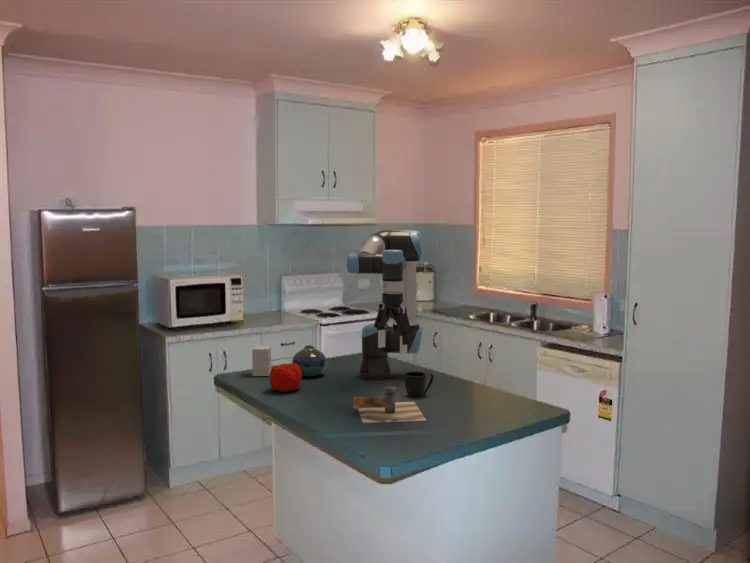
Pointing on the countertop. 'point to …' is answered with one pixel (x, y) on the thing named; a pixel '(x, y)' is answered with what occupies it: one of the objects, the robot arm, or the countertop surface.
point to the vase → (310, 361)
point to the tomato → (285, 377)
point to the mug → (416, 383)
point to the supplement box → (261, 360)
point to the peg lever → (378, 400)
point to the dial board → (392, 413)
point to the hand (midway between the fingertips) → (392, 350)
